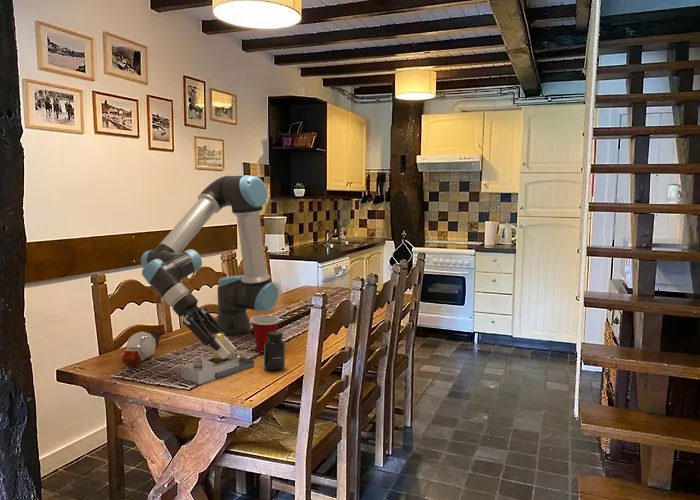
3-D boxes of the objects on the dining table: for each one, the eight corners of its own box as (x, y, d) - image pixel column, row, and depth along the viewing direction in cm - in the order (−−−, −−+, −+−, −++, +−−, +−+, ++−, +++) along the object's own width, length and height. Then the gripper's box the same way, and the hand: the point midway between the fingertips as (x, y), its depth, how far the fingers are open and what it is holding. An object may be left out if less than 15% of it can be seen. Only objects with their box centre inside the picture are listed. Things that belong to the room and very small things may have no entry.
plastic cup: (255, 356, 180) (255, 322, 179) (246, 347, 190) (246, 316, 188) (284, 352, 185) (284, 320, 184) (274, 344, 195) (274, 313, 193)
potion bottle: (150, 357, 180) (137, 377, 166) (125, 342, 178) (110, 361, 164) (164, 337, 179) (153, 355, 165) (140, 322, 177) (126, 339, 163)
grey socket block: (221, 365, 169) (220, 349, 169) (239, 371, 164) (239, 354, 163) (180, 378, 157) (180, 360, 156) (198, 384, 152) (198, 367, 151)
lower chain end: (236, 360, 174) (236, 350, 174) (254, 366, 169) (254, 356, 169) (198, 372, 162) (198, 361, 162) (216, 379, 157) (216, 368, 156)
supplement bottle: (275, 373, 163) (275, 336, 162) (259, 369, 166) (259, 333, 165) (289, 367, 169) (289, 332, 167) (273, 363, 172) (273, 329, 171)
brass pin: (219, 367, 165) (219, 331, 164) (226, 370, 163) (226, 333, 162) (210, 370, 163) (210, 333, 161) (217, 372, 160) (217, 335, 159)
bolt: (156, 342, 201) (152, 352, 186) (144, 337, 199) (139, 346, 185) (164, 329, 201) (160, 338, 187) (152, 323, 200) (148, 332, 185)
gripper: (186, 302, 172) (233, 353, 171) (158, 313, 155) (210, 370, 154) (201, 287, 171) (248, 339, 170) (174, 297, 154) (226, 354, 152)
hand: (229, 353), depth 162 cm, fingers open, 4 cm apart
